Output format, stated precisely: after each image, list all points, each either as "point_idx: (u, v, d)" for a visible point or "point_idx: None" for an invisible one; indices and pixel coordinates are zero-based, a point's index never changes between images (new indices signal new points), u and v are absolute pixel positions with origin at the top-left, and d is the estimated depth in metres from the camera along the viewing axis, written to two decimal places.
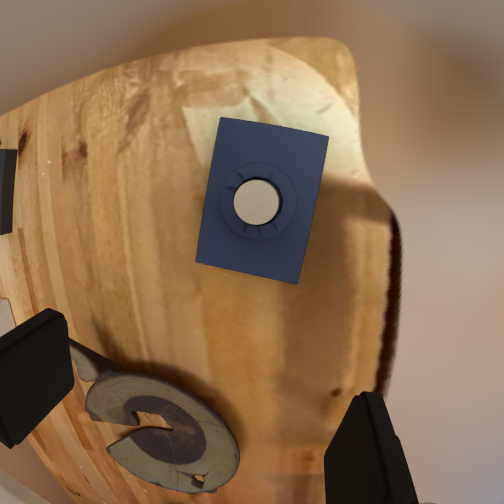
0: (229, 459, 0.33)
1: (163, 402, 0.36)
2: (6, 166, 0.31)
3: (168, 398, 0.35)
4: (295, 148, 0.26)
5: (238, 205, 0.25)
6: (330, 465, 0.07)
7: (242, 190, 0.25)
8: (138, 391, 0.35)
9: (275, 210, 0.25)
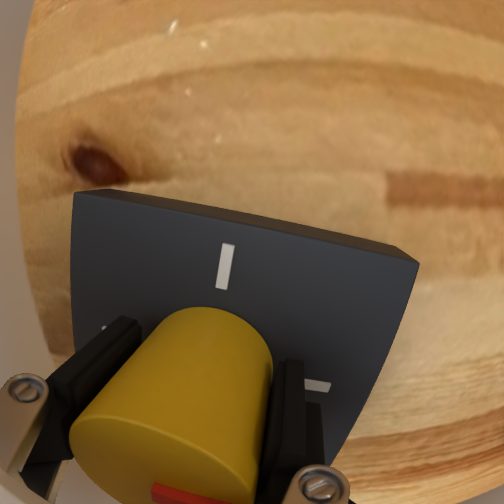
0: None
1: None
2: (133, 199, 0.10)
3: None
4: None
5: None
6: None
7: None
8: None
9: None
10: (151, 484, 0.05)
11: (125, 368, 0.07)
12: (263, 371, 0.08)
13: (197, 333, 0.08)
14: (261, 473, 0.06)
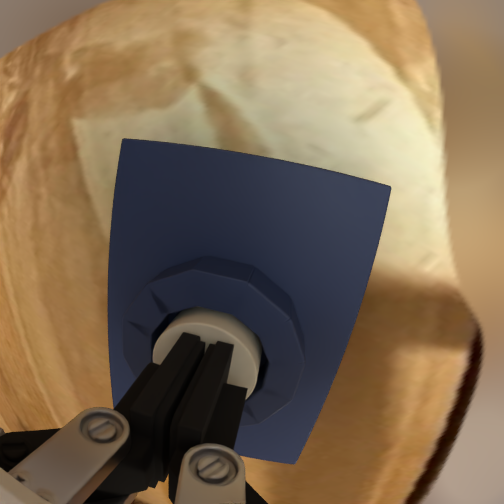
0: None
1: None
2: None
3: None
4: (305, 218, 0.10)
5: None
6: None
7: (168, 343, 0.09)
8: None
9: (250, 390, 0.10)
10: None
11: None
12: None
13: None
14: (170, 448, 0.06)
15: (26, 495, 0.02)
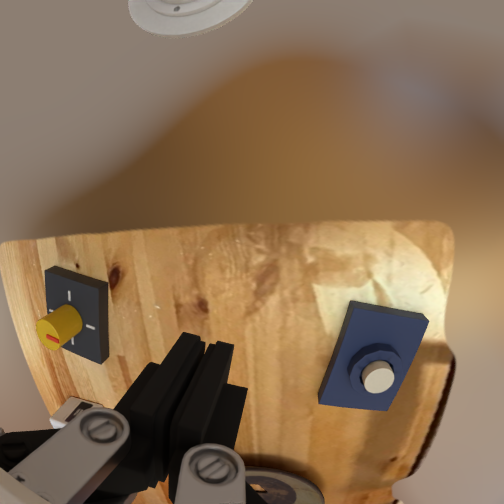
0: None
1: (266, 478, 0.42)
2: (100, 303, 0.36)
3: (273, 476, 0.41)
4: (405, 331, 0.32)
5: (367, 383, 0.31)
6: None
7: (372, 374, 0.30)
8: (247, 474, 0.41)
9: (391, 384, 0.30)
10: (47, 334, 0.32)
11: None
12: (73, 319, 0.35)
13: (61, 309, 0.35)
14: (170, 448, 0.06)
15: (26, 495, 0.02)
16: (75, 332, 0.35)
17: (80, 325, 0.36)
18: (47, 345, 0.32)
